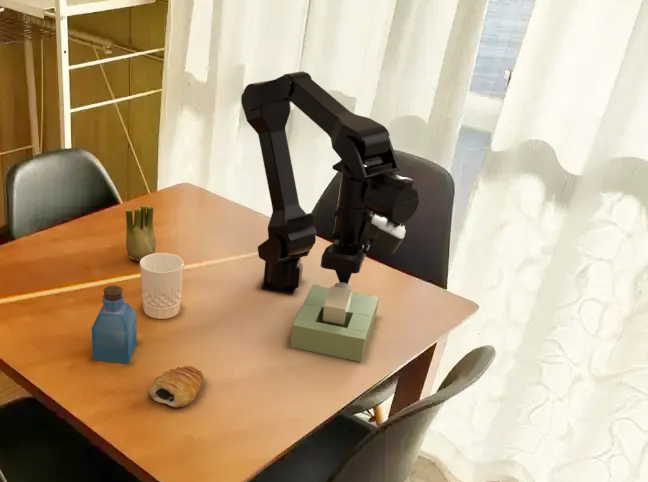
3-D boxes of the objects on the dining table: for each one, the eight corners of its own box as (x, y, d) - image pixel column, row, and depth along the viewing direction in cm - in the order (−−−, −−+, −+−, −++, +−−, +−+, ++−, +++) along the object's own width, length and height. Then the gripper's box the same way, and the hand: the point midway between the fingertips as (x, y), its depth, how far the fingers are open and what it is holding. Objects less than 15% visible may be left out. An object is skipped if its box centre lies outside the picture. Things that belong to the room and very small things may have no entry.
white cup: (189, 304, 141) (190, 257, 136) (172, 324, 135) (173, 275, 130) (151, 296, 144) (150, 249, 139) (133, 315, 138) (132, 267, 133)
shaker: (343, 324, 127) (345, 309, 125) (322, 320, 129) (324, 305, 126) (351, 299, 132) (353, 283, 129) (331, 295, 133) (332, 280, 130)
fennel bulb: (125, 263, 156) (124, 210, 150) (130, 253, 160) (128, 200, 154) (153, 265, 155) (152, 211, 149) (156, 255, 159) (156, 202, 153)
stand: (290, 347, 128) (292, 324, 126) (310, 305, 140) (312, 284, 138) (360, 362, 124) (364, 339, 122) (375, 318, 136) (379, 296, 134)
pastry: (178, 370, 123) (179, 351, 121) (213, 384, 119) (215, 364, 117) (145, 399, 116) (145, 379, 114) (182, 414, 113) (183, 394, 111)
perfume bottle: (128, 363, 124) (127, 301, 118) (93, 359, 126) (89, 297, 119) (136, 343, 130) (135, 283, 123) (102, 340, 131) (99, 279, 124)
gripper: (398, 231, 113) (383, 319, 121) (413, 189, 128) (398, 270, 136) (325, 220, 117) (315, 306, 125) (347, 180, 132) (336, 260, 140)
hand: (344, 285), depth 131 cm, fingers closed
